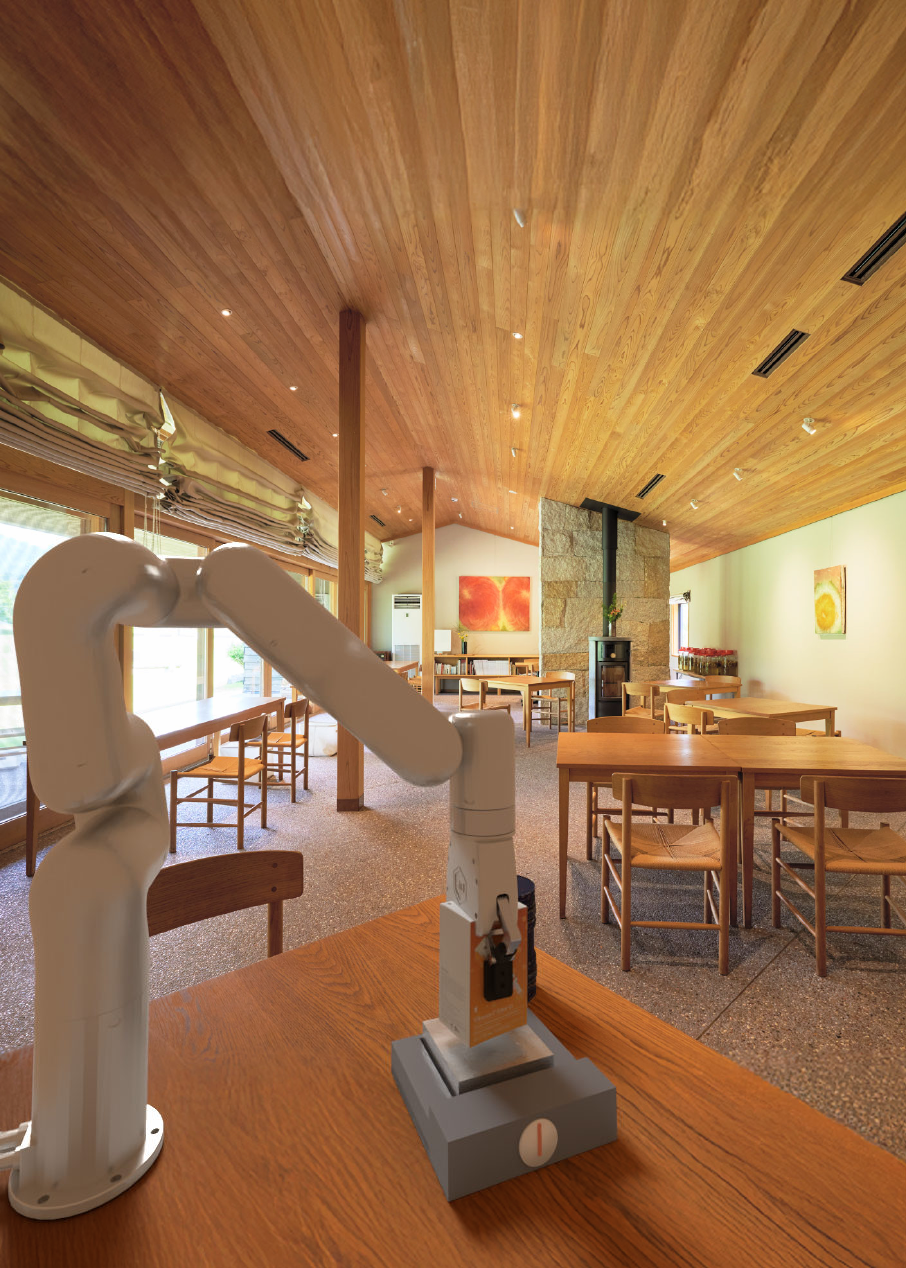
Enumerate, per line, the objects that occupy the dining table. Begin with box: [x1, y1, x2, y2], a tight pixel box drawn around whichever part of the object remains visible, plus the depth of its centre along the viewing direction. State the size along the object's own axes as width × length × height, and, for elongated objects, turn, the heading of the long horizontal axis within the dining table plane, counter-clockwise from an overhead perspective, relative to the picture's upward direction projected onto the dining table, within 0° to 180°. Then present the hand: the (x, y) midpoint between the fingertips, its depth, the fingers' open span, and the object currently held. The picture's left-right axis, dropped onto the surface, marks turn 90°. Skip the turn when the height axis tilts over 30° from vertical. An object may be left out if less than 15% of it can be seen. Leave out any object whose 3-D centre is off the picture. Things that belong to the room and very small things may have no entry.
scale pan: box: [422, 1017, 554, 1097], centre depth 66 cm, size 11×11×3 cm
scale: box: [390, 1006, 618, 1203], centre depth 64 cm, size 18×18×5 cm
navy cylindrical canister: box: [517, 874, 538, 1004], centre depth 87 cm, size 10×10×15 cm
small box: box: [438, 901, 528, 1048], centre depth 67 cm, size 8×6×13 cm
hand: (483, 978), depth 67 cm, fingers closed on small box, 7 cm apart
